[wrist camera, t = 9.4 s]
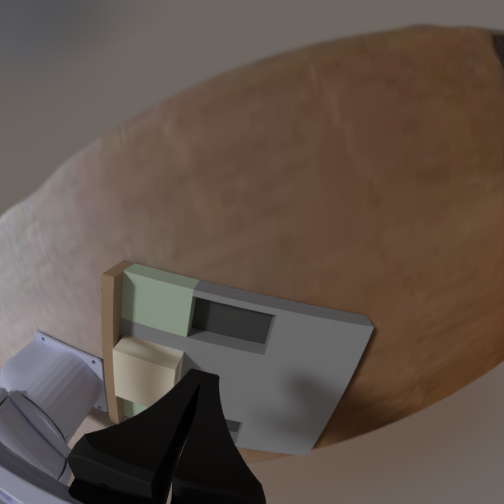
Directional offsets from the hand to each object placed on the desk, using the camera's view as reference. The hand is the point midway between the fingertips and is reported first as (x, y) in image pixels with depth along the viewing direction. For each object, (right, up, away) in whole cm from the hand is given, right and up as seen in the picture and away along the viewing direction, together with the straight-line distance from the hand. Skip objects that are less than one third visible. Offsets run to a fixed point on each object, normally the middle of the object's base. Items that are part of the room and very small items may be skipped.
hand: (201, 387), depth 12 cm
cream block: (-6, -3, +10) cm, 12 cm away
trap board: (0, -4, +12) cm, 13 cm away
